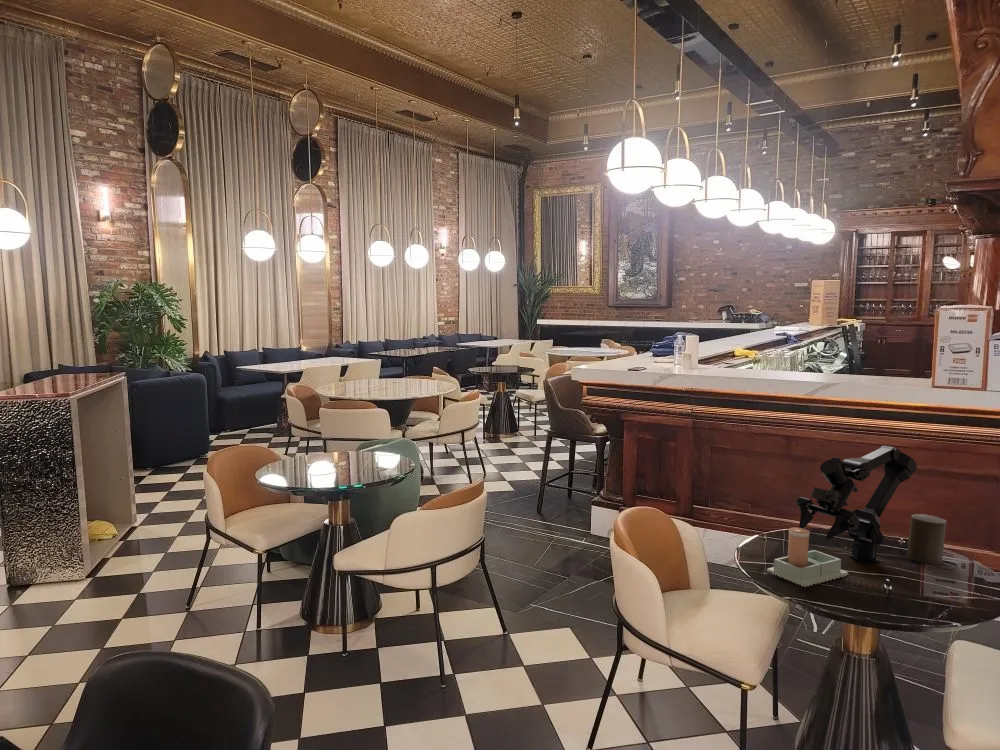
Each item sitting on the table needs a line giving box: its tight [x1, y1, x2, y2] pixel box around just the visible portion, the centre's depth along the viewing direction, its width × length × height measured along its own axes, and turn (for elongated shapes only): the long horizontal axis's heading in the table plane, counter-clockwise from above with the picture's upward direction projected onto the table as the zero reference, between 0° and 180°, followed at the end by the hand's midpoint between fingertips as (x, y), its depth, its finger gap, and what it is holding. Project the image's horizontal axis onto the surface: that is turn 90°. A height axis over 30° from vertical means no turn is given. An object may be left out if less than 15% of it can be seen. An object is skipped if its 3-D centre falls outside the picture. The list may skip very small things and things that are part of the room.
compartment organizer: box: [766, 549, 849, 588], centre depth 208 cm, size 20×13×4 cm, turn 120°
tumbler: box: [787, 527, 810, 568], centre depth 205 cm, size 6×6×13 cm
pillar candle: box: [906, 513, 947, 566], centre depth 222 cm, size 10×10×15 cm
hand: (813, 534), depth 207 cm, fingers open, 9 cm apart
